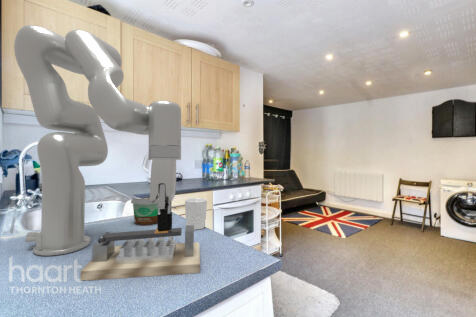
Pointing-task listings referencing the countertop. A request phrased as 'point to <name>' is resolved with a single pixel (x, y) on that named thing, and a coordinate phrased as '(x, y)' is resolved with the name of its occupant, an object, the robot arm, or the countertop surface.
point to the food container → (145, 211)
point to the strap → (139, 235)
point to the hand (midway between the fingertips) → (164, 229)
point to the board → (143, 266)
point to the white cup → (196, 212)
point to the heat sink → (144, 249)
